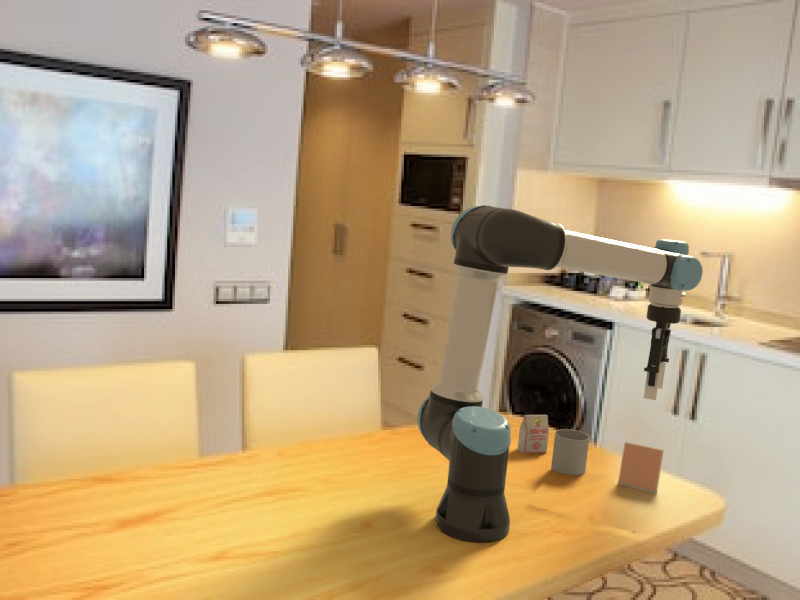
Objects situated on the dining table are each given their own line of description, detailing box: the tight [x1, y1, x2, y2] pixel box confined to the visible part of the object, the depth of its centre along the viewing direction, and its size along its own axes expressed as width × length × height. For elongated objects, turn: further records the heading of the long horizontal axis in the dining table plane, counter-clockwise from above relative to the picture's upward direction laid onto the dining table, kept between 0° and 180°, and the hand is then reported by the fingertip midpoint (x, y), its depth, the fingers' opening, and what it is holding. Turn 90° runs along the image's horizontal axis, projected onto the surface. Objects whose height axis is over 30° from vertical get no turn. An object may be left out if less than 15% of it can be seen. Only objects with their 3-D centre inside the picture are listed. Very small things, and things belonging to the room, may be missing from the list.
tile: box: [617, 441, 665, 494], centre depth 179 cm, size 10×9×1 cm
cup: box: [550, 428, 590, 476], centre depth 187 cm, size 8×8×10 cm
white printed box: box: [517, 414, 550, 455], centre depth 200 cm, size 4×7×10 cm, turn 107°
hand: (653, 393), depth 182 cm, fingers open, 12 cm apart
